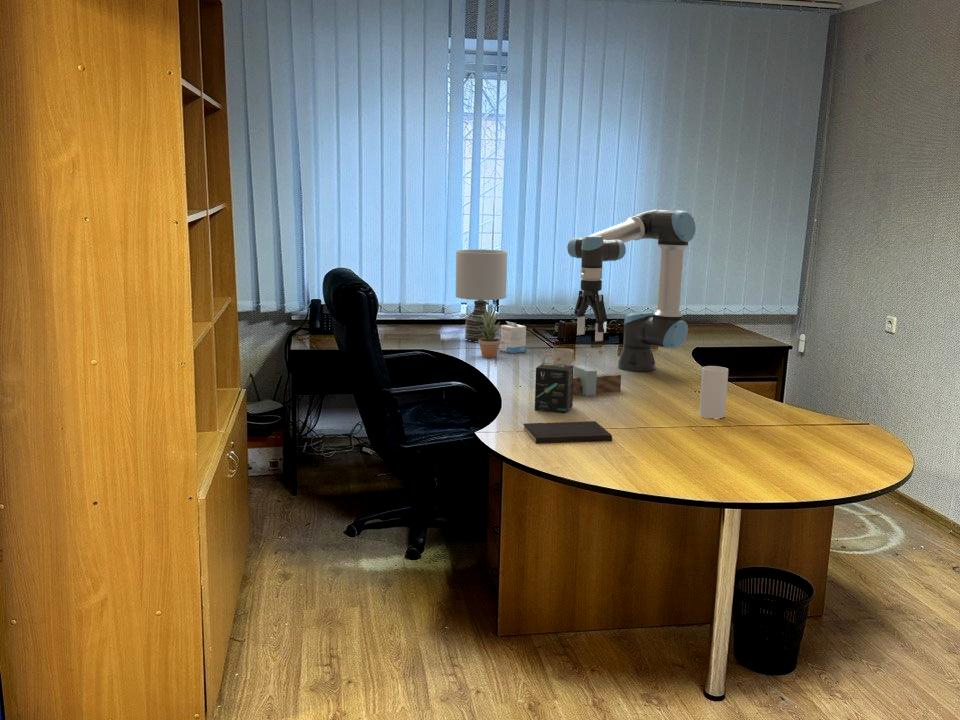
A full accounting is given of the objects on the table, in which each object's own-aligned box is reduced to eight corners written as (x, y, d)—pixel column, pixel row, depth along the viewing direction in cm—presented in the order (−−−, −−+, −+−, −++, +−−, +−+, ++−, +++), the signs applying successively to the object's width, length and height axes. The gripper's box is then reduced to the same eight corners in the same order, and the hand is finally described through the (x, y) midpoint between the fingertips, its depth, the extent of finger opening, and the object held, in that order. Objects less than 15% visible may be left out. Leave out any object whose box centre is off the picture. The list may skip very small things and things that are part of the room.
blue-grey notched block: (582, 389, 325) (583, 365, 324) (595, 395, 316) (596, 370, 314) (573, 389, 324) (574, 365, 322) (585, 396, 315) (586, 371, 313)
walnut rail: (616, 389, 326) (617, 373, 325) (620, 391, 324) (621, 375, 323) (547, 394, 316) (548, 377, 315) (551, 396, 314) (551, 379, 313)
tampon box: (572, 407, 299) (574, 364, 296) (566, 413, 290) (568, 370, 287) (541, 404, 302) (542, 362, 299) (534, 410, 294) (535, 367, 291)
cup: (710, 420, 285) (714, 371, 282) (693, 414, 292) (697, 367, 289) (730, 417, 289) (733, 369, 286) (712, 411, 296) (716, 365, 293)
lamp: (505, 345, 413) (507, 253, 404) (453, 343, 413) (455, 252, 405) (504, 336, 436) (506, 249, 428) (455, 335, 436) (457, 248, 428)
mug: (571, 377, 345) (572, 352, 343) (539, 375, 347) (540, 350, 345) (573, 373, 353) (574, 348, 351) (542, 371, 355) (543, 347, 353)
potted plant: (495, 353, 391) (497, 298, 386) (503, 357, 382) (504, 300, 377) (474, 354, 388) (475, 298, 383) (481, 358, 379) (482, 301, 374)
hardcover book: (523, 430, 271) (523, 423, 271) (595, 428, 275) (595, 421, 275) (535, 445, 256) (536, 437, 255) (612, 442, 260) (612, 435, 259)
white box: (526, 352, 396) (527, 322, 394) (511, 353, 392) (511, 323, 389) (514, 348, 403) (515, 319, 401) (499, 350, 399) (500, 321, 396)
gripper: (566, 275, 327) (564, 332, 331) (599, 283, 304) (597, 344, 309) (583, 275, 330) (582, 331, 334) (618, 282, 307) (616, 342, 311)
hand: (589, 337), depth 321 cm, fingers open, 13 cm apart
